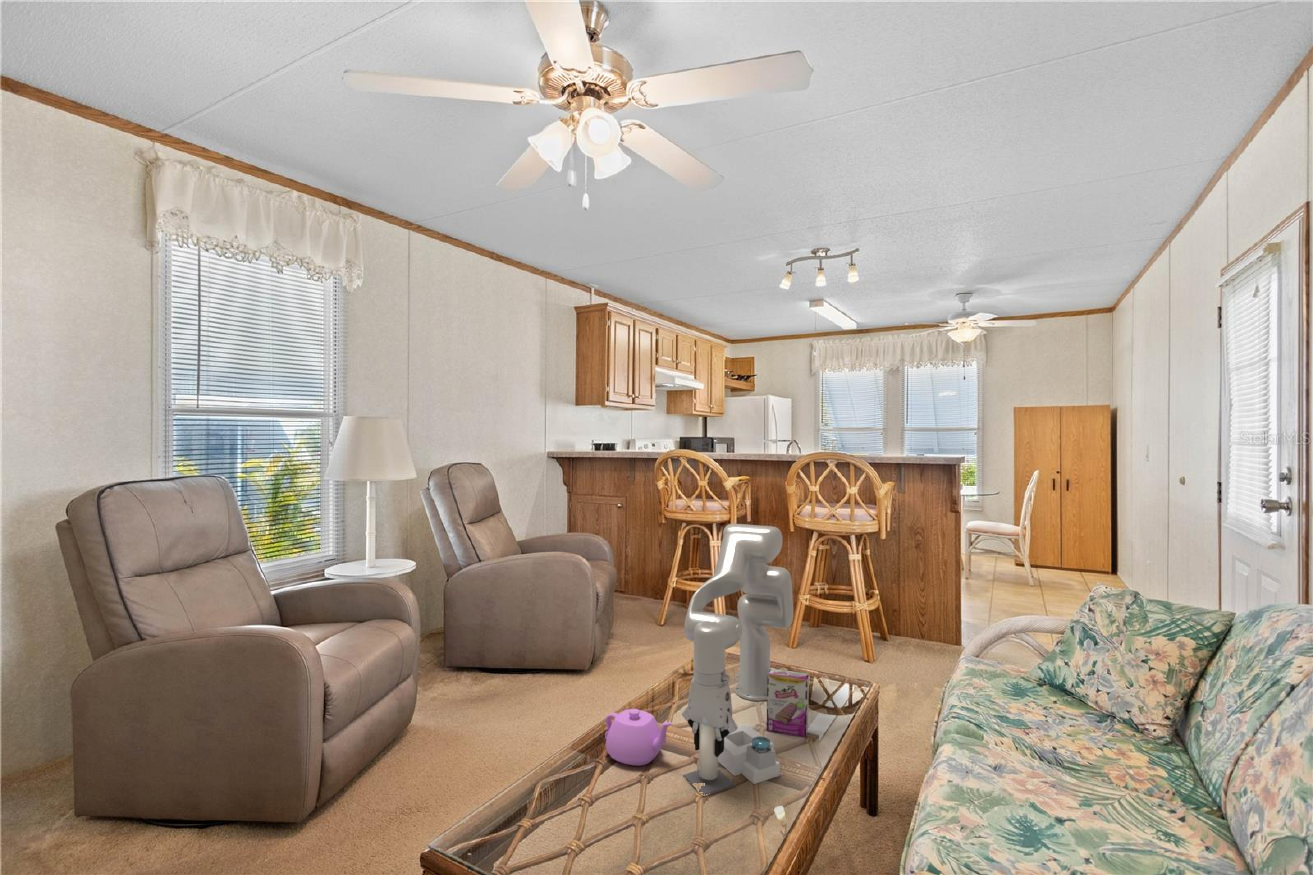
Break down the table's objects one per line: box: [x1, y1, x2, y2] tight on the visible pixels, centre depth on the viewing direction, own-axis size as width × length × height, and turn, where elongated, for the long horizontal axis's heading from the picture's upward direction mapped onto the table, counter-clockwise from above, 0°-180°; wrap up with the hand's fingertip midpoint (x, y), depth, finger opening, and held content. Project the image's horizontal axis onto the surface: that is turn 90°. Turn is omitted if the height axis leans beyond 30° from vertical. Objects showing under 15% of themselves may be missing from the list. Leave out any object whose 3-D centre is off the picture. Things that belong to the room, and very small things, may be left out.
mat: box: [682, 768, 736, 795], centre depth 147 cm, size 9×9×1 cm
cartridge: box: [698, 717, 719, 780], centre depth 147 cm, size 5×5×15 cm
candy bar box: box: [766, 667, 810, 738], centre depth 171 cm, size 11×5×16 cm, turn 71°
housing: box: [718, 720, 781, 785], centre depth 157 cm, size 22×12×6 cm, turn 28°
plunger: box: [752, 736, 771, 754], centre depth 150 cm, size 4×4×5 cm
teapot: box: [604, 708, 673, 767], centre depth 158 cm, size 20×13×12 cm, turn 62°
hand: (708, 750), depth 147 cm, fingers closed on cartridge, 4 cm apart
